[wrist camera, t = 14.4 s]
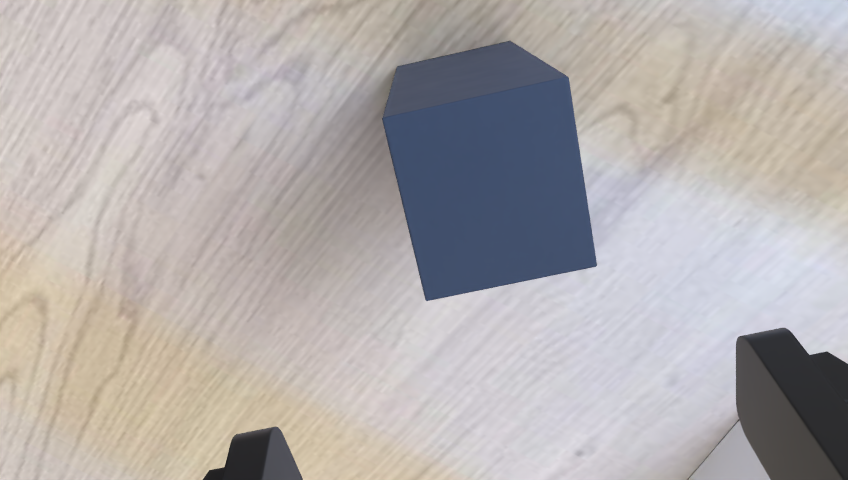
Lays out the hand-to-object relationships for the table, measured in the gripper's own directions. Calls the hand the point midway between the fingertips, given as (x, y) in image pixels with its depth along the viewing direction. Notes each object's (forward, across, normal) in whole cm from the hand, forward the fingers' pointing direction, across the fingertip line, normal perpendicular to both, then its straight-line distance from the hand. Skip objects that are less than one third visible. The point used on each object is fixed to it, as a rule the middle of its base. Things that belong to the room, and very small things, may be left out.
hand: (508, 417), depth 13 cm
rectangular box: (+18, -1, -1) cm, 18 cm away
